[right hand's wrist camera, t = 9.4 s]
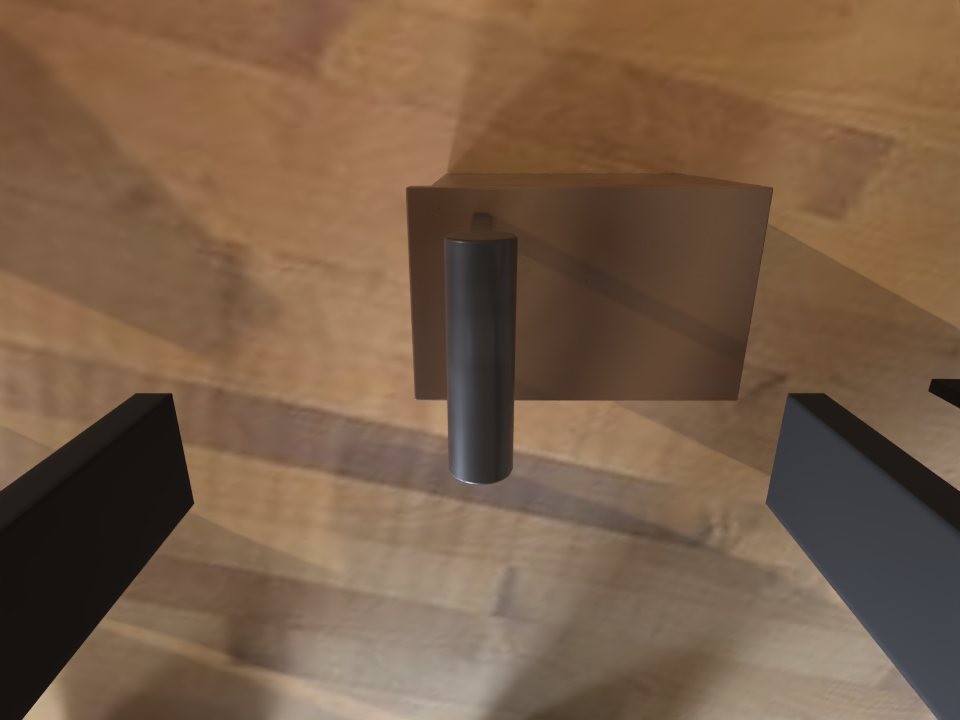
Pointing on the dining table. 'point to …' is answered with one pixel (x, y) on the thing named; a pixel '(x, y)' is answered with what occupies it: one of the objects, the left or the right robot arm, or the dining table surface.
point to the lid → (576, 300)
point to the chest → (581, 180)
